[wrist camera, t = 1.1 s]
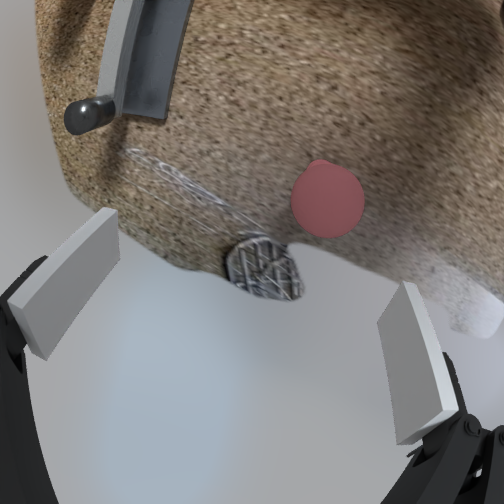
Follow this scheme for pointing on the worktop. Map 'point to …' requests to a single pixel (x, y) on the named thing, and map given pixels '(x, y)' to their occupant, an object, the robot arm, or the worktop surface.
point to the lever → (108, 72)
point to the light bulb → (327, 200)
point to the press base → (155, 57)
